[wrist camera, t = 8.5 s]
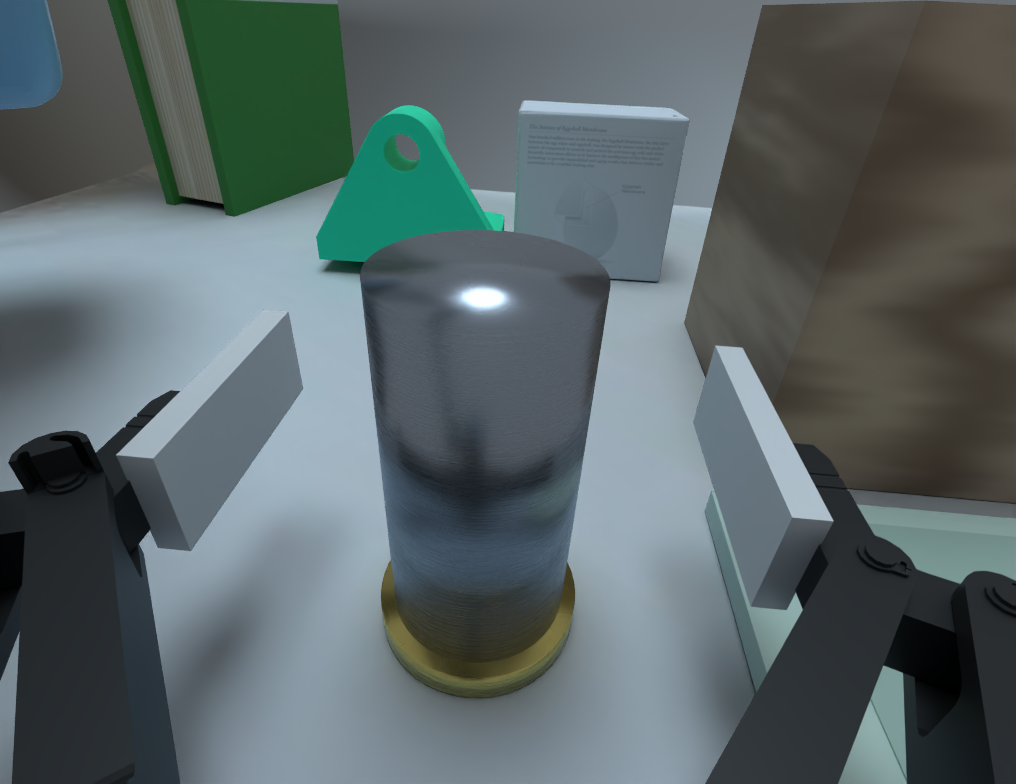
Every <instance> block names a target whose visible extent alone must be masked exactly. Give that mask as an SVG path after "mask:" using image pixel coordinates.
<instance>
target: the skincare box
mask: <svg viewBox="0 0 1016 784" xmlns="http://www.w3.org/2000/svg"><path fill="white" fill-rule="evenodd" d="M518 120H519V121H518V122H519V123H518V124H519V125H518V152H517V153H518V154H517V175H516V198H515V219H514V232H516V233H523V234H529V235H535V236H540V237H544V238H548V239H552V240H555V241H559V242H562V243H565V244H567V245H570V246H573V247H575V248H577V249H579V250H581V251H583V252H585V253H587V254H589V255H590V256H592V257H593V258H595V259H596V260H597V261H599V262H600V263H601V264H602V265H603V266H604V268H605V269H606V271H607V272H608V274H609V277H610V279H626V280H639V281H658V280H659V277H660V272H661V263H662V259H663V254H664V249H665V244H666V238H667V233H668V228H669V223H670V218H671V212H672V207H673V202H674V197H675V192H676V187H677V182H678V176H679V171H680V166H681V160H682V155H683V148H684V143H685V138H686V136H687V131H688V127H689V122H690V120H689V119H688V118H686V117H685V116H683V115H682V114H680V113H679V112H677V111H675V110H673V109H670V108H658V107H638V106H637V107H636V106H618V105H617V106H616V105H597V104H579V103H560V102H544V101H523V102H522V105H521V107H520V110H519V117H518Z"/></svg>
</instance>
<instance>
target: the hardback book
mask: <svg viewBox="0 0 1016 784" xmlns="http://www.w3.org/2000/svg"><path fill="white" fill-rule="evenodd" d="M108 3H109V7H110V10H111V13H112V17H113V20H114V24H115V27H116V30H117V34H118V37H119V41H120V44H121V48H122V51H123V55H124V58H125V62H126V65H127V68H128V71H129V75H130V79H131V82H132V85H133V89H134V92H135V96H136V99H137V103H138V106H139V110H140V113H141V116H142V120H143V123H144V127H145V130H146V134H147V137H148V141H149V144H150V147H151V151H152V154H153V158H154V161H155V165H156V168H157V171H158V175H159V178H160V182H161V185H162V189H163V192H164V195H165V199H166V202H167V204H171V205H177V204H181V203H184V202H187V201H190V200H194V199H200V200H206V201H211V202H217V203H222V204H224V209H225V213H226V215H229V216H238V215H240V214H243V213H246V212H249V211H251V210H254V209H257V208H260V207H262V206H265V205H268V204H271V203H273V202H276V201H279V200H281V199H284V198H287V197H290V196H292V195H295V194H298V193H301V192H303V191H306V190H309V189H312V188H314V187H317V186H320V185H322V184H325V183H328V182H331V181H333V180H336V179H339V178H342V177H344V176H347V175H348V173H349V171H350V169H351V167H352V165H353V163H354V157H353V147H352V138H351V129H350V118H349V108H348V99H347V89H346V80H345V70H344V61H343V50H342V41H341V31H340V22H339V12H338V2H337V0H108Z"/></svg>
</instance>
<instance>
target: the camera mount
mask: <svg viewBox="0 0 1016 784" xmlns="http://www.w3.org/2000/svg"><path fill="white" fill-rule="evenodd" d="M397 134H404V135H407V136H409V137H411V138H412V139H413V140H414V141H415V143H416V144H417V146H418V148H419V152H420V159H419V160H417V161H412V160H408V159H406V158H404V157H403V156H402V155H401V154H400V153H399V151H398V149H397V146H396V135H397ZM457 230H495V231H504V216H503V215H501V214H498V213H492V212H483V210H482V209H481V207H480V205H479V204H478V202H477V200H476V198H475V197H474V195H473V193H472V191H471V190H470V188H469V186H468V185H467V183H466V181H465V179H464V178H463V176H462V174H461V172H460V171H459V169H458V167H457V166H456V164H455V162H454V160H453V159H452V157H451V155H450V153H449V152H448V150H447V148H446V141H445V135H444V132H443V130H442V127H441V126H440V124H439V122H438V121H437V120H436V118H435V117H434V116H433V115H432V114H430V113H429V112H428V111H426V110H424V109H422V108H420V107H416V106H401V107H398V108H396V109H394V110H392V111H391V112H390V113H388V114H386V115H385V116H383V117H382V118H380V119H379V120H378V121H377V122H375V123H374V125H373V126H372V127H371V129H370V131H369V133H368V135H367V137H366V139H365V141H364V143H363V145H362V147H361V149H360V151H359V153H358V155H357V157H356V159H355V161H354V163H353V165H352V167H351V169H350V171H349V173H348V175H347V177H346V179H345V181H344V183H343V185H342V187H341V189H340V191H339V193H338V195H337V197H336V199H335V201H334V203H333V205H332V207H331V209H330V211H329V213H328V215H327V217H326V219H325V221H324V223H323V225H322V227H321V229H320V231H319V233H318V235H317V237H316V238H317V245H318V251H319V258H320V259H325V260H341V261H357V262H365V261H366V260H367V259H368V258H369V257H370V256H371V255H372V254H374V253H375V252H377V251H378V250H380V249H382V248H384V247H386V246H388V245H390V244H393V243H395V242H398V241H401V240H404V239H407V238H411V237H415V236H419V235H424V234H430V233H437V232H445V231H457Z"/></svg>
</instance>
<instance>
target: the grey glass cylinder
mask: <svg viewBox="0 0 1016 784" xmlns="http://www.w3.org/2000/svg"><path fill="white" fill-rule="evenodd" d="M360 281H361V290H362V299H363V308H364V317H365V326H366V335H367V345H368V354H369V363H370V372H371V381H372V390H373V399H374V409H375V418H376V427H377V436H378V445H379V454H380V463H381V473H382V482H383V491H384V500H385V509H386V518H387V527H388V537H389V546H390V555H391V561H390V562H389V564H388V567H387V569H386V572H385V574H384V578H383V582H382V590H381V602H382V612H383V619H384V627H385V631H386V636H387V639H388V642H389V644H390V647H391V649H392V651H393V652H394V654H395V656H396V657H397V659H398V660H399V662H400V663H401V664H402V665H403V666H404V668H405V669H406V670H407V671H408V672H409V673H411V674H412V675H413V676H414V677H415V678H417V679H418V680H420V681H421V682H423V683H424V684H426V685H428V686H430V687H432V688H434V689H436V690H438V691H441V692H444V693H447V694H450V695H455V696H461V697H473V698H482V697H493V696H497V695H502V694H506V693H509V692H512V691H514V690H517V689H520V688H522V687H523V686H525V685H527V684H529V683H531V682H532V681H534V680H535V679H537V678H538V677H539V676H541V675H542V674H543V673H544V672H545V671H546V670H547V669H548V668H549V667H550V666H551V665H552V664H553V663H554V661H555V660H556V659H557V657H558V656H559V654H560V653H561V651H562V649H563V647H564V645H565V643H566V640H567V637H568V635H569V630H570V625H571V620H572V614H573V609H574V602H575V587H574V580H573V576H572V572H571V570H570V567H569V565H568V562H567V559H568V553H569V546H570V540H571V534H572V527H573V521H574V515H575V508H576V502H577V495H578V489H579V483H580V476H581V470H582V464H583V457H584V451H585V444H586V438H587V432H588V425H589V419H590V412H591V406H592V400H593V393H594V387H595V381H596V374H597V368H598V361H599V355H600V349H601V342H602V336H603V330H604V323H605V317H606V310H607V304H608V298H609V291H610V277H609V274H608V272H607V271H606V269H605V268H604V266H603V265H602V264H601V263H600V262H599V261H597V260H596V259H595V258H593V257H592V256H590V255H589V254H587V253H585V252H583V251H581V250H579V249H577V248H575V247H573V246H570V245H567V244H565V243H562V242H559V241H555V240H552V239H548V238H544V237H540V236H535V235H529V234H523V233H516V232H507V231H495V230H457V231H445V232H437V233H430V234H424V235H419V236H415V237H411V238H407V239H404V240H401V241H398V242H395V243H393V244H390V245H388V246H386V247H384V248H382V249H380V250H378V251H377V252H375V253H374V254H372V255H371V256H370V257H369V258H368V259H367V260H366V261H365V263H364V264H363V266H362V268H361V272H360Z"/></svg>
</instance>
